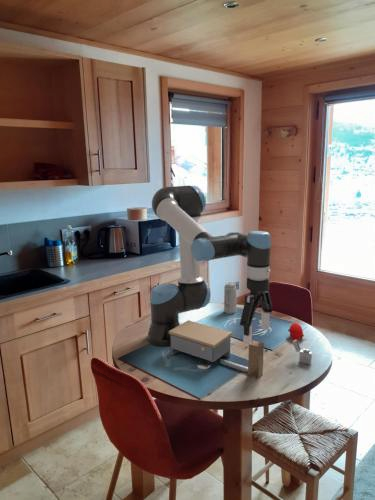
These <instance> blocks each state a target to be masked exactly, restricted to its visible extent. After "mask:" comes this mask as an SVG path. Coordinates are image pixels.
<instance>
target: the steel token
mask: <svg viewBox="0 0 375 500" xmlns="http://www.w3.org/2000/svg"><path fill="white" fill-rule="evenodd" d="M196 367H197V368H198V369H199V370H202V369H203V370H204V369H205V370H208V368H209V367H210V368H211V363H210V361H208V360H201V361H199V362H197V363H196ZM210 368H209V369H210Z"/></svg>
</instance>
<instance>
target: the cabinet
mask: <svg viewBox="0 0 375 500" xmlns="http://www.w3.org/2000/svg"><path fill="white" fill-rule="evenodd" d="M169 334H171V345H170V355H172V356H174V355H176V354H177V353H179V352H181V353H185V354H189V355H190V356H194V357H197V358H200V359H204V360H205V361H208V362H213V363H214V362H216V361H218V359H219V360H220V359H221V357H222V356H224V357H226V358H231V336H233V332H232V331H228V330H226V329H220V328H217V327H214V326H211V325H207V324H204V323H203V324H202V323H199V322H195V321H191V320H189V319H188V320H186V321H185V322H183V323H181V324H180V325H179V326H177V327H175V328H174V329H172V330H170V331H169Z"/></svg>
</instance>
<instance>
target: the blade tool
mask: <svg viewBox="0 0 375 500" xmlns="http://www.w3.org/2000/svg"><path fill="white" fill-rule="evenodd" d="M264 344H265V343H264V342H260V341H257V340H254V339H253V340H252V344H251V345H249V344H248V366H246V365H243V364H242V365H241V364H239V363H237V362H236V363H235V362H233V361H229V360H226V359H224V358H223V359H222V358H219V364H220V363H221V365H223V364H224V365H223V366H226V365H227V366H226V367H229V368H232V369H235V370H238V371H242V372H244V373H247V375H248V376H250V377H253V378H256V379H260V378H261V376H263V373H264V349H265V348H264V346H265V345H264Z"/></svg>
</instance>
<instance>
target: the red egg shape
mask: <svg viewBox="0 0 375 500" xmlns="http://www.w3.org/2000/svg"><path fill="white" fill-rule="evenodd" d="M287 331H288V332H289V336H290V339H291V340H292V341H293V340H297V341H298V342H299V340H300V339H302V338H303V337H305V335H304V331H303V327H302V326H301V325H300V324H299V323H295V322H294V323H292V324H290V326H289V328H288V330H287Z"/></svg>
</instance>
